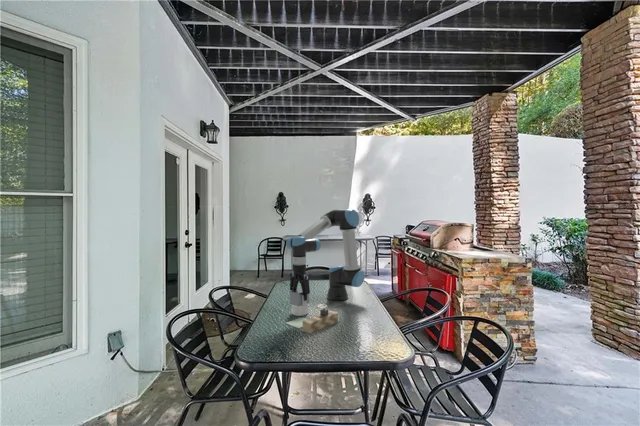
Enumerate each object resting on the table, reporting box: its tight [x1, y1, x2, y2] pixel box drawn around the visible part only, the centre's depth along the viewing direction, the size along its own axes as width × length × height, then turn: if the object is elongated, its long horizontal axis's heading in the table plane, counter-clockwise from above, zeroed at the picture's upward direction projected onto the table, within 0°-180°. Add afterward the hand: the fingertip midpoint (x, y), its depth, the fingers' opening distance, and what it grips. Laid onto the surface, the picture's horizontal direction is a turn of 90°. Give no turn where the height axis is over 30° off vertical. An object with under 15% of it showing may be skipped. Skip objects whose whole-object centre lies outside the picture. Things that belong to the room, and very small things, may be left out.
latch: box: [319, 307, 329, 316], centre depth 162 cm, size 3×3×4 cm
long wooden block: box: [302, 310, 339, 334], centre depth 160 cm, size 22×6×5 cm, turn 136°
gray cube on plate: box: [289, 288, 310, 306], centre depth 165 cm, size 8×7×7 cm
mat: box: [285, 316, 308, 330], centre depth 165 cm, size 12×11×1 cm
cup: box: [291, 303, 309, 317], centre depth 180 cm, size 10×10×10 cm
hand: (299, 304), depth 165 cm, fingers closed on gray cube on plate, 7 cm apart
